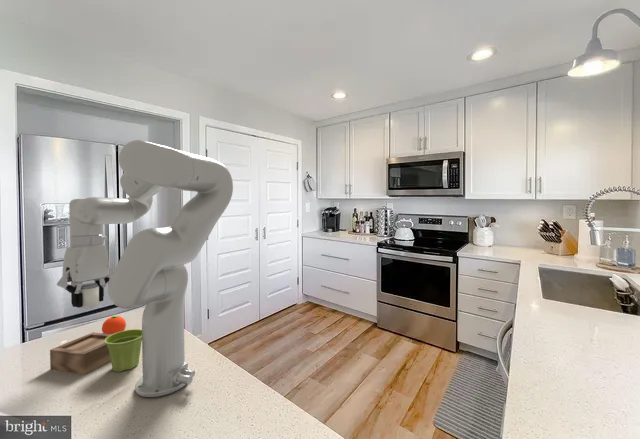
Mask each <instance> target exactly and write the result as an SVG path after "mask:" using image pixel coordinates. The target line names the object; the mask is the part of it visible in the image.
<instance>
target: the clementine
mask: <svg viewBox="0 0 640 439" xmlns="http://www.w3.org/2000/svg"><path fill="white" fill-rule="evenodd" d="M126 326H127V322H126V320H125V318H124V317H122V316H120V315H112V316H110V317H108V318H107V319H105V321H103V323H102V327H101V333H105V334H114V333H117V332H121V331H125V330H126V328H127V327H126Z"/></svg>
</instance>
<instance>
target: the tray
mask: <svg viewBox="0 0 640 439" xmlns="http://www.w3.org/2000/svg"><path fill="white" fill-rule="evenodd" d="M110 335H112V334H105V333H103V332H91V333H88V334H86V335H83V336H81V337H78V338H75V339H73V340H70V341H68V342H66V343H63V344H60V345H58V346H55V347H53V348H50V349H49V360H50V362H49V363H50V370H52V371H56V372H65V373H70V374H77V375H84V376H85V375H88V374H89V373H91V372H92V371H94V370H96V369H99V368H100V367H103V365H105V364H108V363H110V362H111V358H110V353H109V349H108V347H107V344H105V342H104V340H105V339H106V338H107V337H108V336H110Z"/></svg>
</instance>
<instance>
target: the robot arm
mask: <svg viewBox="0 0 640 439" xmlns="http://www.w3.org/2000/svg"><path fill="white" fill-rule="evenodd" d="M118 164H119V166H120V168H121V170H122V171H123V172H124V173H123V174H122V175H121V177H120V178H119V182H120V187H121V189H122V191H123V192H124V193H125V194H126V195H127V196H129V197H127V198H123V197H122V198H119V197H118V198H117V197H101V196H100V197H99V196H97V197H96V196H95V197H94V196H91V197H86V198H74V199H71V200H70V202H69V203H68V204H69V205H68V208H69V210H68V211H69V212H68V213H69V246H68V247H66V248H65V252H64V256H63V264H62V276H61V277H60V279H59V280H58V281H57V283H56V286H57V287H60V288H62V289H64V290H65V291H67V292H68V293H69V294H71V296H70V297H71V300H70V301H71V305H72V307H74V308H77V307H79V308H78V309H81V308H80V307H82V306H83V294H82V293H80V290H81V287H82V284H84V283H85V282H90V281H93V283H98V286H99V302H103V301H104V297H105V290H104V289H105V287H106V286H107V283H108V296H109V299H110V301H111V302H112V304H113V305H115V306H116V307H118V308H121V309H134V308H137V307H140V306H144V309H143V312H142V317H141V330H142V342H141V351H142V352H141V354H142V355H141V357H142V358H141V360H142V363H141V364H142V376H141V377H140V378H138V380H137V381H136V382H135V392H136V394H137V395H139V396H141V397H144V398H145V397H146V398H155V397H156V398H157V397H162V396H166V395H169V394H172V393H174V392H176V391H179V390H180V389H182V388H183V387H185V386H186V385H191V383H192V382H193V379H194V378H193V377H194V376H196V375H195V374H196V372H195V370H191V369H190V368H189V365H188V364H189V362H186V361H185V298H186V292H187V288H188V287H187V286H188V282H189V274H188V270H187V268H186V266H185V265H186V264H190V263H191V262H193V261H194V260H195V259H196V258H197V256H198V255H199V253H200V252H201V251H202V248H203V247H204V245H205V243H206V242H207V240H208V238H209V236H210V235H211V233H212V231H213V229H214V228H215V225H217V223H218V221H219V220H220V218H221V217H222V215H223V213H225V210H226V209H227V207H228V206H229V204H230V201H231V200H232V197H233V192H234V191H233V190H234V184H233V183H234V182H233V178H232V175H231V172H230V171H229V169H228V168H227V167H226V166H225V165H224V164H223V163H221V162H220V161H217V160H215V159H214V158H210V157H206V156H204V155H203V156H202V155H198V154H194V153H190V152H186V151H184V150H179V149H175V148H172V147H169V146H167V145H163V144H158V143H154V142H151V141H148V140H147V141H146V140H142V139H135V140H131V141H128V142H127V143H126V144H125V145H124V146H123V147H122V148H121V149H120V152H119V154H118ZM164 188H165V189H171V190H175V191H186V192H196V195H195V196H193V197H192V198H190V199H189V200H188V201H187V202H186V203H185V204H184V205H183V206H182V207H181V209H180V210H179V212H178V213H177V216H176V218H175V219H174V220H173V221H172V223H171V224H169V225H168V226H166V227H151V228H150V227H149V228H146V229H142V230H140V231H139V232H138V233H136V234H135V235H133V237H131V239H130V240H129V241H128V243H127V245H126V246H125V249H124V251H123V252H122V255H121V257H120V258H119V261H118V263H117V265H116V266H115V268H114V270H112V269H111V268H110V262H109V261H110V260H109V254H108V249H107V246H106V244H104V243H105V242H104V241H107V239H108V237H107V236H106V235H104V225H116V224H117V225H119V224H120V225H121V224H122V225H124V224H125V225H126V224H130V223H134V222H136V221H137V220H139V219H141V217H143V216H144V215H146V214H147V213H148V212H149V211H150V210H151V208H152V205H153V200H154V198H153V196H155V195H157V194H158V193H159V192H161V191H162V190H163V189H164ZM69 283H70V284H69Z"/></svg>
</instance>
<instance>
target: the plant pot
mask: <svg viewBox="0 0 640 439" xmlns="http://www.w3.org/2000/svg"><path fill="white" fill-rule="evenodd" d="M104 342H105V344H107V347H108V349H109V353H110V358H111V361H110V362H111V363H110V364H111V368H112V370H113V371H114V372H120V373H121V372H123V371H126V370H128V371H130V370H132V369H134V368H135V367H137V366H138V365H139V362H140V357H141V351H142V329H139V328H132V329H127V330H126V329H125V330H124V331H121V332H117V333H114V334H112V335H110V336H108V337H107V338H106V339H105V340H104Z"/></svg>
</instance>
